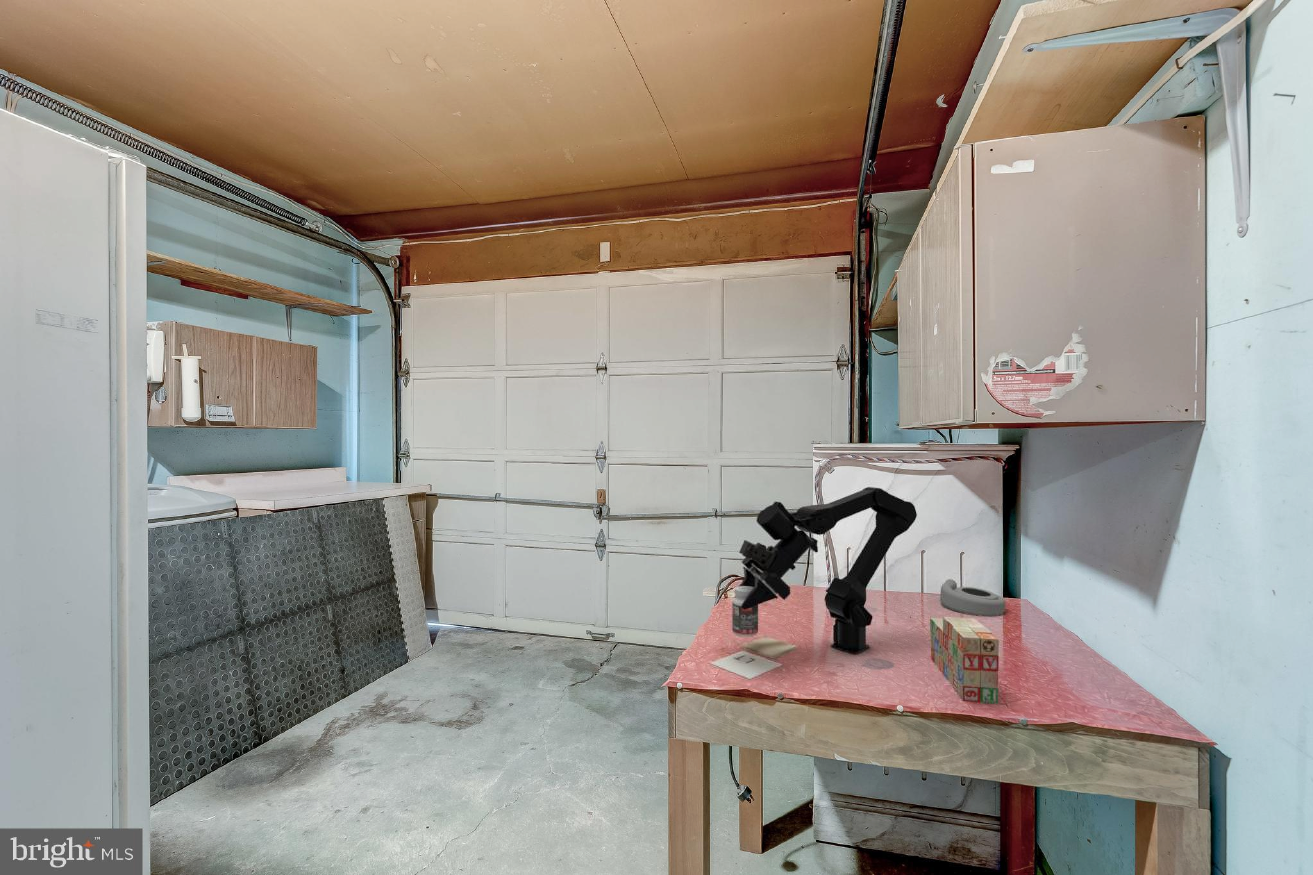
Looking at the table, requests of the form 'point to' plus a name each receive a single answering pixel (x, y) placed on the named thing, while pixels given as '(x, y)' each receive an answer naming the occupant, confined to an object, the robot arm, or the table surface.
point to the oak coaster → (769, 647)
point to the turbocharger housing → (971, 600)
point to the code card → (746, 664)
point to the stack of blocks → (966, 657)
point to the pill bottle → (744, 614)
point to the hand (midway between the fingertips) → (738, 604)
